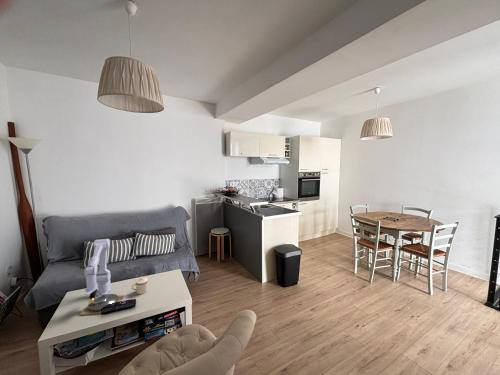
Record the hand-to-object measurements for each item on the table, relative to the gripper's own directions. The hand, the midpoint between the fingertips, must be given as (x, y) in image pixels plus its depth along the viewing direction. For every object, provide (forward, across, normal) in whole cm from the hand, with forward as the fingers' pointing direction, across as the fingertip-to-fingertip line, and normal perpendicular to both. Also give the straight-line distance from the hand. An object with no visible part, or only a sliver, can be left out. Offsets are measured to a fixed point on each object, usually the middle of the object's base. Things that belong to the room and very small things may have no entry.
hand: (92, 300), depth 150 cm
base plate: (+5, 0, +7) cm, 8 cm away
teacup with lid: (+5, -11, +29) cm, 32 cm away
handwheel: (+4, 0, +7) cm, 8 cm away
